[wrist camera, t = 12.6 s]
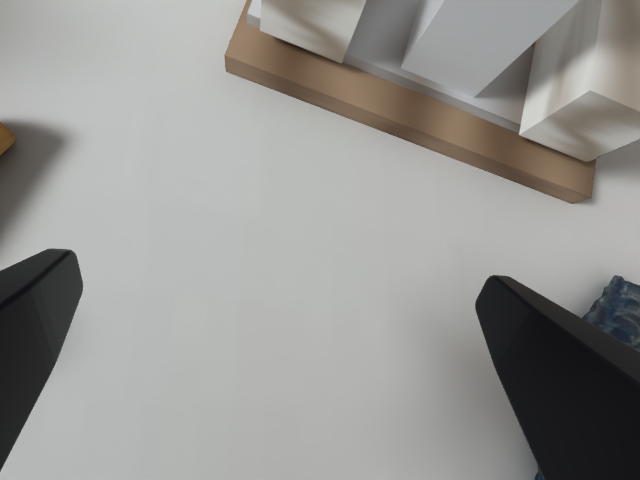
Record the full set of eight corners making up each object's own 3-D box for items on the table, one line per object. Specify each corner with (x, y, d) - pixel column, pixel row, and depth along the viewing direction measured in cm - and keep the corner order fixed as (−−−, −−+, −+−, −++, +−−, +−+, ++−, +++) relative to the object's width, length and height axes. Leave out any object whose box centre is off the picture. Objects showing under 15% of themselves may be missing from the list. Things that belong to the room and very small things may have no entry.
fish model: (468, 594, 20) (540, 683, 15) (571, 259, 26) (648, 248, 21) (566, 639, 21) (664, 738, 16) (646, 304, 26) (738, 303, 22)
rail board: (589, 73, 29) (702, -3, 22) (572, 203, 26) (693, 165, 19) (280, -63, 25) (293, -207, 18) (225, 71, 23) (217, -35, 16)
